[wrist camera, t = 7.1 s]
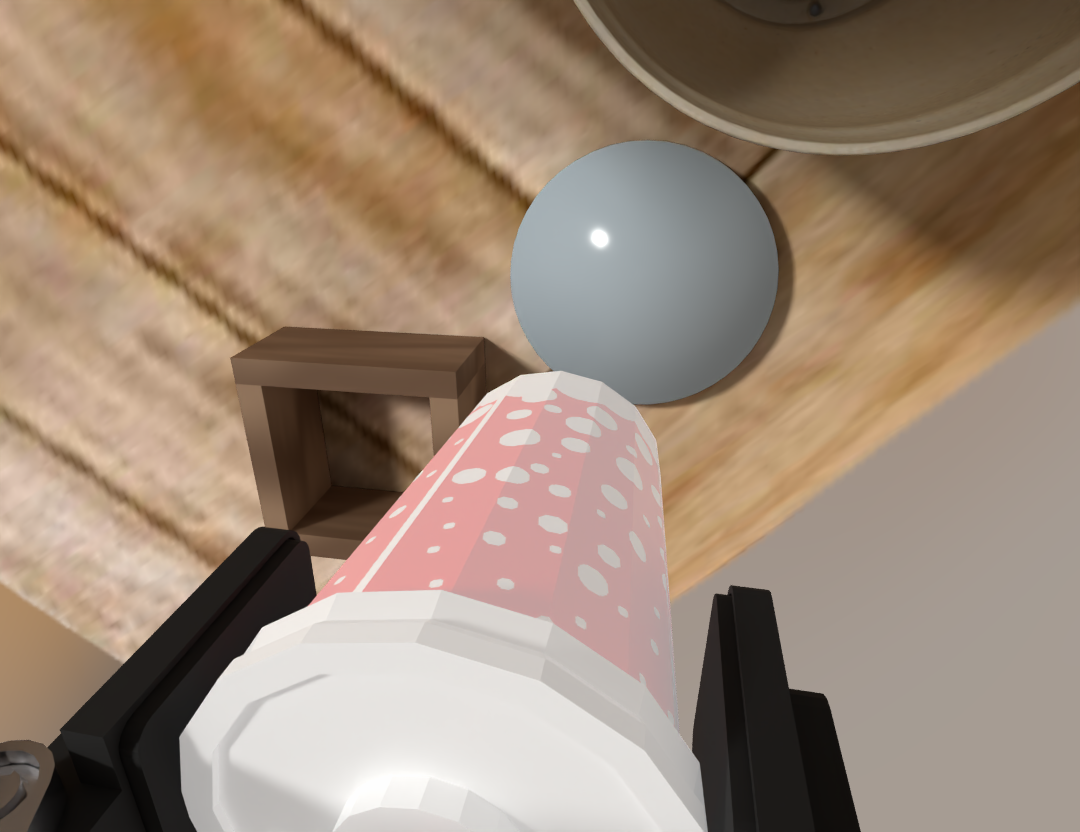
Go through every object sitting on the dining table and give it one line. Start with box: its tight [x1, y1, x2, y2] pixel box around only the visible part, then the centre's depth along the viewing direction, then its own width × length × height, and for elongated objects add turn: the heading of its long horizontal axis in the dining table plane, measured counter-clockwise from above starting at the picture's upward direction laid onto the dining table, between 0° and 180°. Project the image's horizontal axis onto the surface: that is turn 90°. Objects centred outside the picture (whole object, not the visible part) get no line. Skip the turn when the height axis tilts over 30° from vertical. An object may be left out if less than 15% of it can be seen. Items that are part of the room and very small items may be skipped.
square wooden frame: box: [230, 327, 486, 560], centre depth 33 cm, size 10×10×4 cm
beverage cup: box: [179, 371, 708, 832], centre depth 9 cm, size 6×6×14 cm
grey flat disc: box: [510, 140, 779, 404], centre depth 29 cm, size 11×11×1 cm
